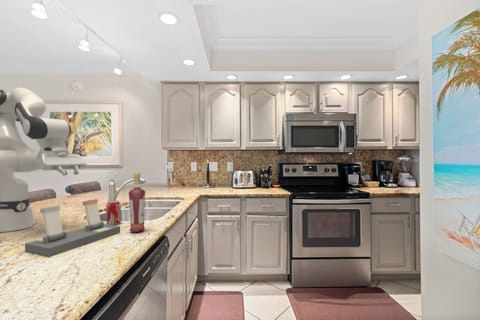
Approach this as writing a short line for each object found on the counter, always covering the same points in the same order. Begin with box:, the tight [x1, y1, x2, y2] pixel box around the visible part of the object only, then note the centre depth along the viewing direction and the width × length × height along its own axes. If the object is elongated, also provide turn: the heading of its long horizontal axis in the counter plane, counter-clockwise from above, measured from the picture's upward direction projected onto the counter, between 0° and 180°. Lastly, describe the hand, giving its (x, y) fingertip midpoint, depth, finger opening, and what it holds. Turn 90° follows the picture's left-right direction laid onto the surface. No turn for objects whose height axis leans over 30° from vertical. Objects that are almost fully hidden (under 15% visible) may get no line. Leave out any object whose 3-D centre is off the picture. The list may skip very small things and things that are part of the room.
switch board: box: [24, 221, 121, 258], centre depth 106 cm, size 14×31×5 cm, turn 158°
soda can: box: [105, 200, 122, 226], centre depth 134 cm, size 7×7×12 cm
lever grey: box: [39, 205, 64, 241], centre depth 99 cm, size 2×6×13 cm, turn 158°
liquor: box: [128, 171, 146, 234], centre depth 120 cm, size 7×7×28 cm
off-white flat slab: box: [81, 198, 102, 230], centre depth 114 cm, size 2×6×13 cm, turn 158°
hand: (71, 174), depth 119 cm, fingers open, 4 cm apart
